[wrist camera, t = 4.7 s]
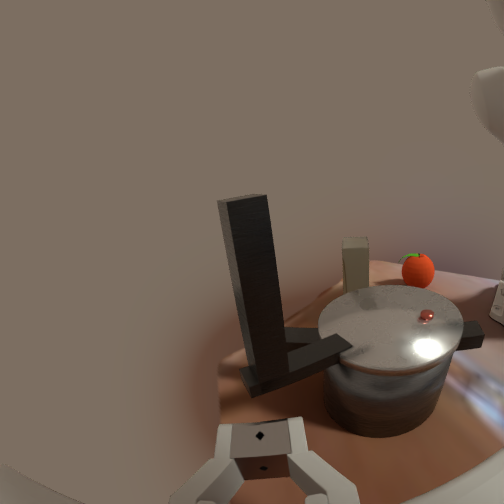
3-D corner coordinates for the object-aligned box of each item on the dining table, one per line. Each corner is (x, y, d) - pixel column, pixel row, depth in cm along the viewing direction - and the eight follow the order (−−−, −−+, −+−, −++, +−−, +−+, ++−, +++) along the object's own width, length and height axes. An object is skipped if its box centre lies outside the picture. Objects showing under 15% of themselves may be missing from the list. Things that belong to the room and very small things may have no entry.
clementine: (392, 291, 49) (392, 257, 47) (401, 278, 53) (402, 246, 52) (429, 297, 43) (432, 261, 41) (435, 283, 48) (437, 249, 46)
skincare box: (345, 300, 50) (342, 237, 46) (368, 299, 48) (367, 235, 45) (343, 317, 44) (340, 247, 41) (369, 317, 42) (369, 246, 39)
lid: (391, 282, 33) (387, 171, 29) (485, 322, 19) (498, 176, 16) (223, 343, 27) (192, 200, 23) (286, 457, 13) (248, 213, 9)
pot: (451, 350, 29) (463, 291, 26) (473, 427, 16) (505, 361, 14) (276, 352, 38) (268, 297, 36) (239, 424, 26) (221, 364, 23)
